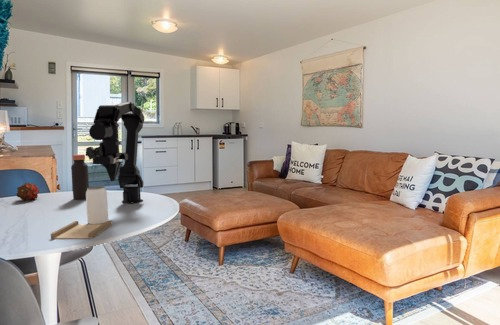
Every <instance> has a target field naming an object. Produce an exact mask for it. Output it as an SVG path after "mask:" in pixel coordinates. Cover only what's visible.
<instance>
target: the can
mask: <svg viewBox="0 0 500 325" xmlns="http://www.w3.org/2000/svg"><path fill="white" fill-rule="evenodd" d="M85 200H86V201H85V202H86V204H85V205H86V216H87V218H86V219H87V223H88V224H104V223H105V222H107V221H109V205H108V192H107V189H106V186H104V185H98V186H97V185H94V186H89V187H88V188H87V191H86V199H85Z"/></svg>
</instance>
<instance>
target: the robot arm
mask: <svg viewBox="0 0 500 325" xmlns="http://www.w3.org/2000/svg"><path fill="white" fill-rule="evenodd" d="M120 119H121V120H122V122H123V126H124V128H125V130H126V140H125V142H126V143H125V152H120V145H121V144H122V143H121V141H119V138H120V136H119V127H120V125H119V123H118V122H119V121H120ZM144 122H145V116H144V114H143V110H141V108H139V107H137V106H135V104H134V102H132V101H122V102H120V103H116V104H103V105H99V106H98V108H97V109H96V112H95V115H94V119H93V124H92V125H91V126H90V128H89V130H88V133H89V135H90V137H91V138H92V140H94V141H100V143H99V145H98V147H95V148H94V147H93V146H88V147H86V148H85V157H88V159H89V161H90V160H92V165H100V166H103V167H104V168H105V169H106V172H107V174H108V177H109V180H110V182H115V180H116V178H117V180H118V184H119V189H122V190H123V192H122V200H121V202H122V203H127V204H135V203H139V202H143V201H144V199H141V189H142V188H144V180H143V177H142V175H141V172H140V169H139V168H138V166H137V162H138V160H137V158H138V144H139V133H140V132H141V131H142V129H143V127H144ZM120 160H124V164H123V161H120ZM118 173H119V174H118ZM117 175H118V176H117Z"/></svg>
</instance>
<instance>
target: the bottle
mask: <svg viewBox="0 0 500 325" xmlns="http://www.w3.org/2000/svg"><path fill="white" fill-rule="evenodd" d="M85 160H86V154H73V155H72V161H73V163H72V165H71V166H70V167H71V170H70V171H71V182H72V184H71V185H72V198H73V200H76V201H79V200H86V191H87V188H88V187H90V179H89V165H88V164H86V162H85Z"/></svg>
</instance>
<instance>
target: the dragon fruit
mask: <svg viewBox="0 0 500 325" xmlns="http://www.w3.org/2000/svg"><path fill="white" fill-rule="evenodd" d="M16 189H17V191H16V197H17V198H20V200H22V201H28V202H29V200H30V201H31V200H37V198H38V197H39V195H38V194H40V188H39V187H38V186H37V185H36V184H33V182H32V183H31V182H27V183H23V184H22V185H21V186H18V187H17V188H16Z"/></svg>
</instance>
